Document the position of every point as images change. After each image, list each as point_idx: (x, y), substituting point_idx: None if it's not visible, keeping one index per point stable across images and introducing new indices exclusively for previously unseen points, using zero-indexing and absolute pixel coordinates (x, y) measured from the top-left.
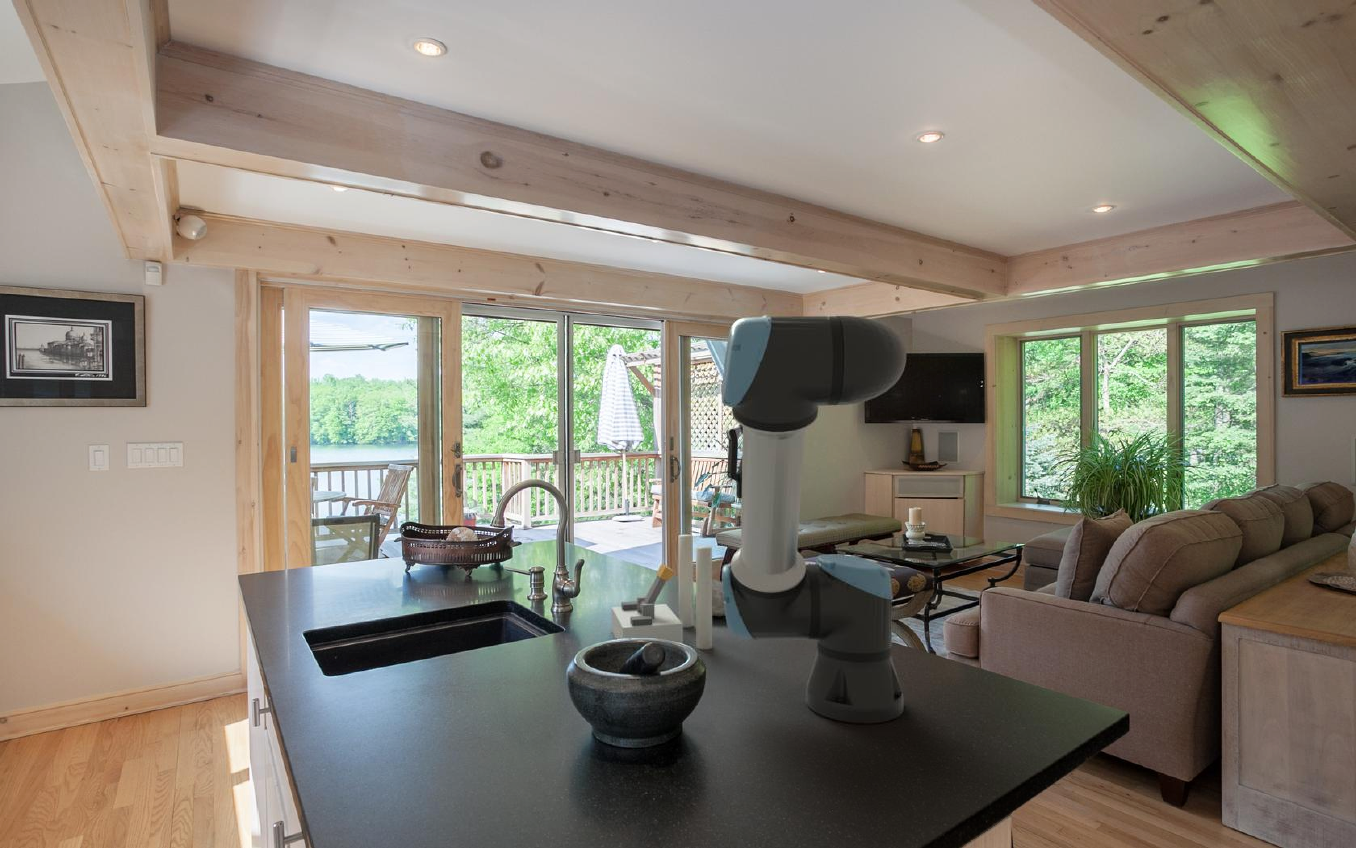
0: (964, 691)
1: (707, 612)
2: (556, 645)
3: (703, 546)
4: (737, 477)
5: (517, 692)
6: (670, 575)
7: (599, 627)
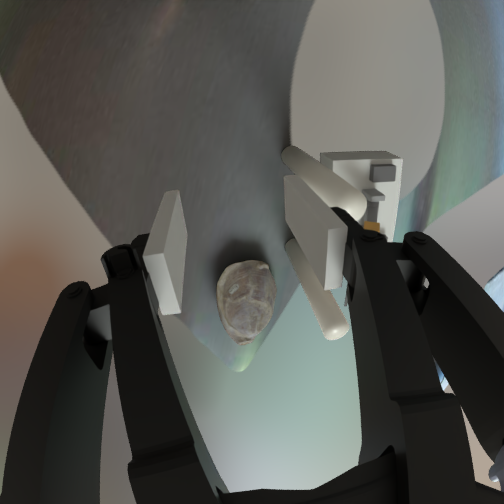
0: (37, 7)
1: (304, 157)
2: (432, 193)
3: None
4: (392, 251)
5: (466, 78)
6: (366, 225)
7: None
